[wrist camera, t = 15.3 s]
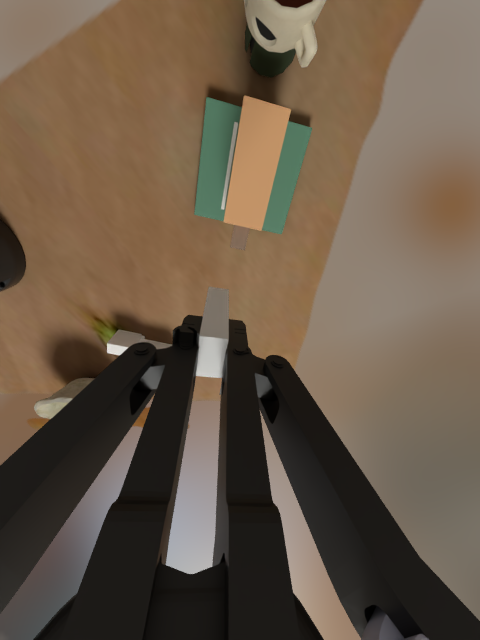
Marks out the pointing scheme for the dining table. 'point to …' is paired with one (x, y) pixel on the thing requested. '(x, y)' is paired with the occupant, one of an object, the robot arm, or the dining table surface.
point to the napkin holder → (129, 342)
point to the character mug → (280, 33)
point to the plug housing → (254, 166)
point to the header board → (219, 162)
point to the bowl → (61, 398)
